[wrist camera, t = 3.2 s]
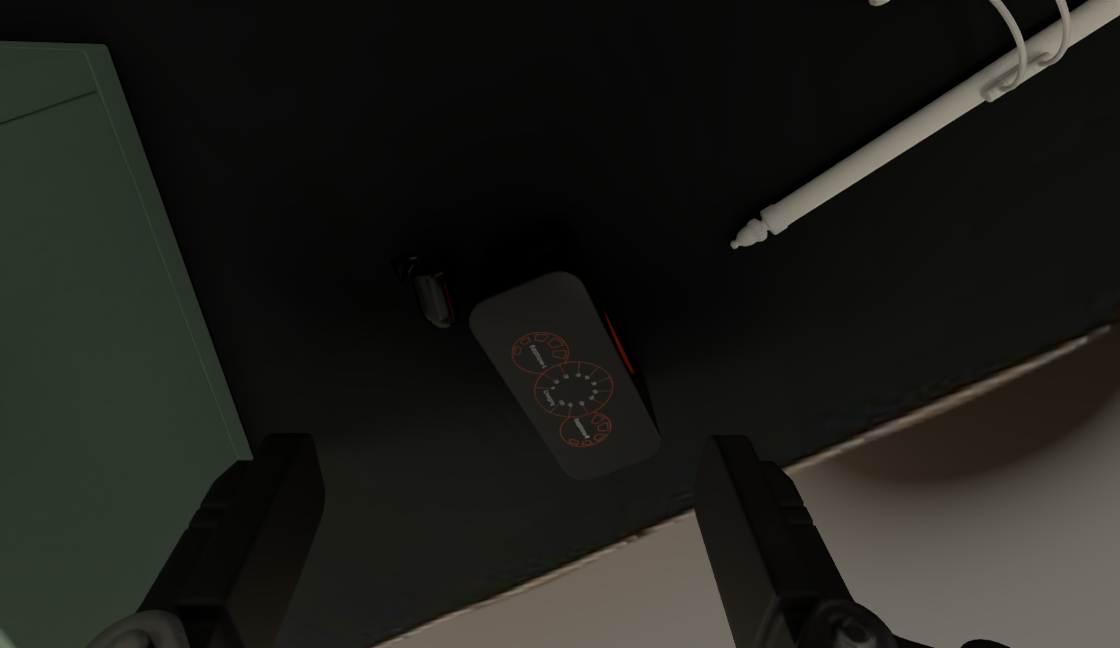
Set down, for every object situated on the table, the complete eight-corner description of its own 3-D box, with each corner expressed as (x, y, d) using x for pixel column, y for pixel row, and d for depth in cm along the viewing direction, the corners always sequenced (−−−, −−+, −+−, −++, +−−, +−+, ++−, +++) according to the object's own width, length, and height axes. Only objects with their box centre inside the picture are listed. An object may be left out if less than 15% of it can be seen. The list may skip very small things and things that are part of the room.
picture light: (733, 250, 16) (759, 288, 14) (648, 121, 14) (665, 147, 12) (1351, -145, 12) (1498, -160, 10) (1357, -412, 10) (1542, -492, 8)
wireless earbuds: (551, 176, 15) (557, 230, 12) (647, 376, 18) (668, 453, 15) (392, 249, 15) (364, 315, 13) (515, 426, 19) (513, 506, 16)
